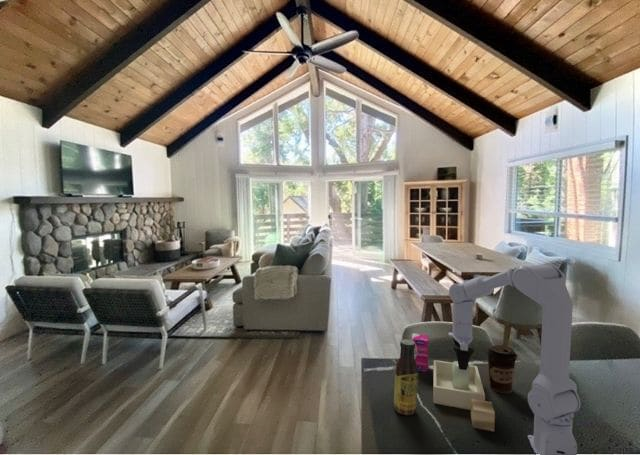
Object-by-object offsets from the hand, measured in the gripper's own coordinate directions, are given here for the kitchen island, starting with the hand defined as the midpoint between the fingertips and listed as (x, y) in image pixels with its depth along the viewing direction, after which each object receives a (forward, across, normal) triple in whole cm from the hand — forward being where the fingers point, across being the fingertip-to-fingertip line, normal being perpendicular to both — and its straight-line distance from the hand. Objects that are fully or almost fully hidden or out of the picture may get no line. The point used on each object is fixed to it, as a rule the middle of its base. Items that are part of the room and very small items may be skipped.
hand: (461, 363), depth 103 cm
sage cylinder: (+8, 0, 0) cm, 8 cm away
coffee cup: (+9, -4, +12) cm, 15 cm away
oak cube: (+8, +16, +4) cm, 18 cm away
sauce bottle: (+9, +17, -16) cm, 25 cm away
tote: (+8, +2, -2) cm, 9 cm away
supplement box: (+8, -10, -13) cm, 19 cm away
